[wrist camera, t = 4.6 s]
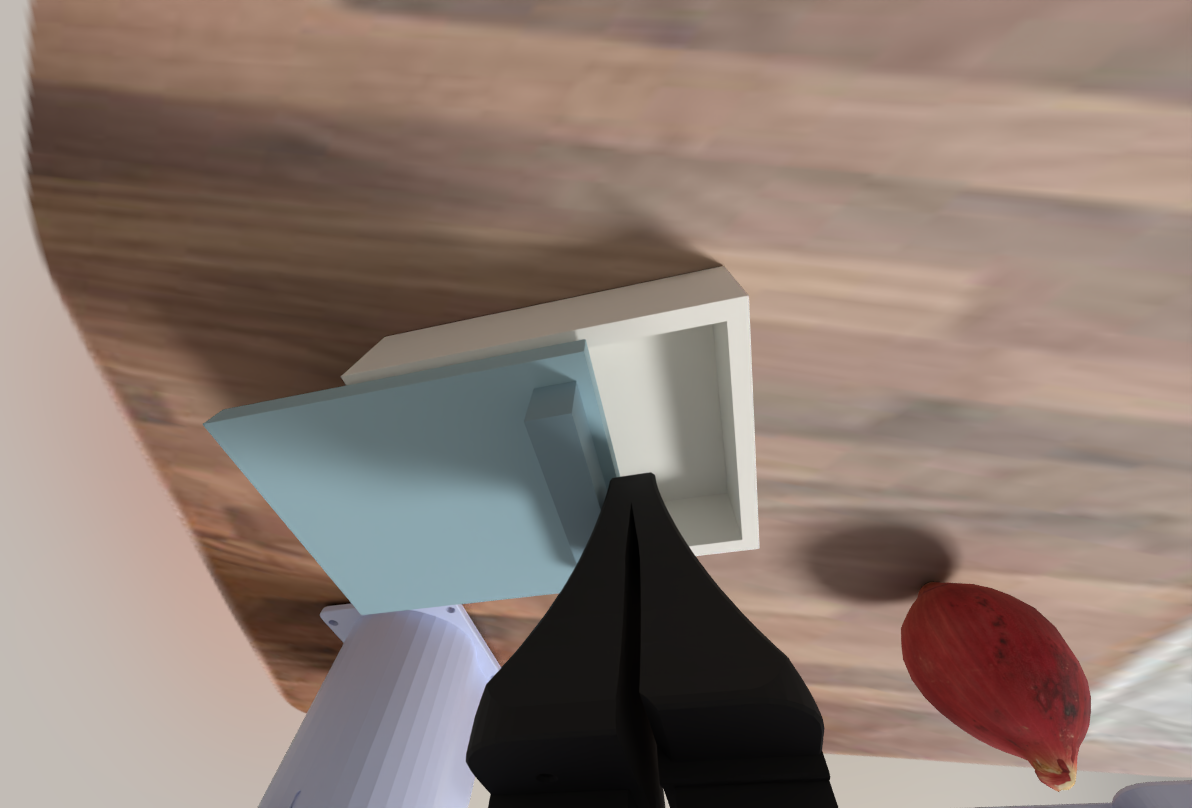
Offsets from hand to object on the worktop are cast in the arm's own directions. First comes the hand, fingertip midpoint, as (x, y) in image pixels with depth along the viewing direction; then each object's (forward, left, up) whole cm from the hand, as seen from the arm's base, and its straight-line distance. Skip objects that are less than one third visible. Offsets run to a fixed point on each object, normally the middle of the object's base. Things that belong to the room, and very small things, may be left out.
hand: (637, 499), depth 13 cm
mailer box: (0, +2, -5) cm, 5 cm away
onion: (-13, -13, -5) cm, 19 cm away
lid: (0, +6, -1) cm, 6 cm away
